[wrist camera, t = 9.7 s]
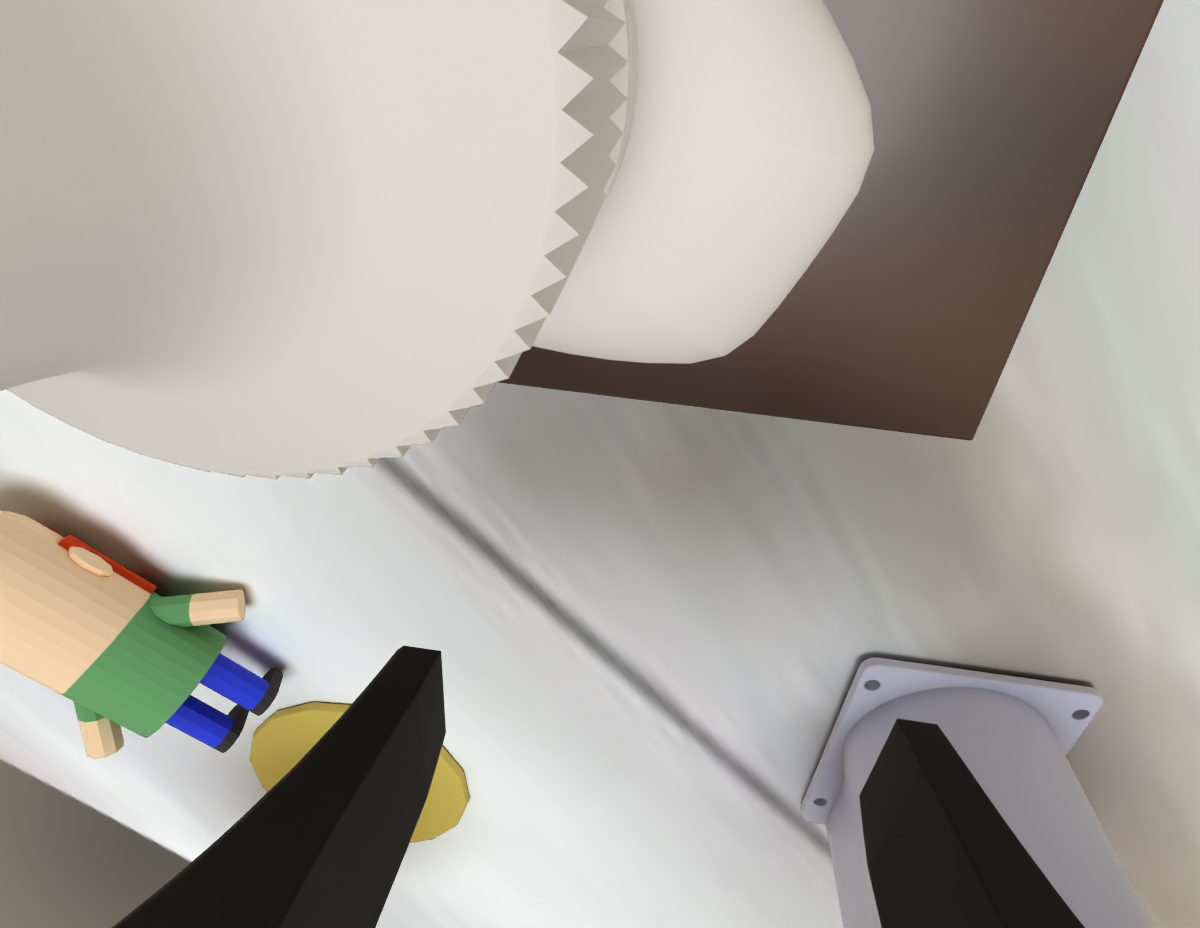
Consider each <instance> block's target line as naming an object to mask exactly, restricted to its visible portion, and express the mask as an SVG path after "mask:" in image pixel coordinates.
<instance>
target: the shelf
mask: <svg viewBox="0 0 1200 928" xmlns="http://www.w3.org/2000/svg"><path fill="white" fill-rule="evenodd" d="M823 1H824V3H825V5H826V6H827V8H828V10H829V12H830V14H831V16H832V18H833V20H834V22H835V24H836V26H837V28H838V30H839V31H840V33H841V35H842V37H843V39H844V41H845V43H846V45H847V47H848V49H849V51H850V53H851V55H852V57H853V60H854V62H855V65H856V68H857V70H858V73H859V76H860V78H861V81H862V83H863V86H864V89H865V91H866V94H867V97H868V99H869V102H870V105H871V115H872V128H873V140H874V152H873V155H872V157H871V160H870V163H869V165H868V168H867V171H866V174H865V176H864V179H863V182H862V184H861V187H860V190H859V192H858V194H857V195H856V197H855V199H854V200H853V202H852V203H851V205H850V206H849V208H848V210H847V211H846V213H845V214H844V216H843V217H842V219H841V221H840V222H839V224H838V225H837V227H836V229H835V230H834V232H833V233H832V235H831V236H830V238H829V239H828V240H827V242H826V243H825V245H824V246H823V247H822V249H821V250H820V252H819V253H818V254H817V256H816V257H815V259H814V260H813V261H812V263H811V264H810V266H809V267H808V268H807V270H806V271H805V272H804V274H803V275H802V276H801V278H800V279H799V280H798V282H797V283H796V284H795V286H794V287H793V288H792V290H791V291H790V292H789V294H788V295H787V296H786V298H785V299H784V300H783V301H782V303H781V304H780V305H779V307H778V308H777V309H776V310H775V311H774V312H773V314H772V315H771V316H770V317H769V318H768V319H767V321H766V322H765V323H764V324H763V325H762V326H761V328H760V329H759V330H758V331H757V332H756V333H755V335H754V336H752V337H751V338H749V339H748V340H747V341H745V342H744V343H742V344H741V345H740V346H738V347H737V348H735V349H734V350H733V351H731V352H730V353H729V354H727V355H726V356H722V357H718V358H713V359H709V360H704V361H700V362H696V363H691V364H683V363H641V362H629V361H617V360H607V359H600V358H594V357H587V356H581V355H574V354H568V353H563V352H558V351H553V350H549V349H544V348H539V347H534V346H532V347H531V349H529V350H526V351H523V352H522V354H521V356H520V358H519V360H518V361H517V363H516V365H515V367H514V369H513V371H512V373H511V375H510V377H509V379H505V380H501V381H498V382H500V383H508V384H516V385H524V386H532V387H540V388H549V389H557V390H565V391H573V392H581V393H589V394H597V395H605V396H614V397H622V398H630V399H638V400H646V401H654V402H662V403H670V404H679V405H687V406H695V407H703V408H711V409H719V410H727V411H735V412H744V413H752V414H760V415H768V416H776V417H784V418H792V419H800V420H809V421H817V422H825V423H833V424H841V425H849V426H857V427H865V428H874V429H882V430H890V431H898V432H906V433H914V434H922V435H930V436H939V437H947V438H955V439H963V440H972V439H973V438H974V435H975V433H976V431H977V428H978V426H979V424H980V421H981V419H982V417H983V415H984V412H985V410H986V408H987V405H988V403H989V401H990V398H991V396H992V394H993V392H994V389H995V387H996V385H997V382H998V380H999V378H1000V375H1001V373H1002V371H1003V369H1004V366H1005V364H1006V362H1007V359H1008V357H1009V355H1010V352H1011V350H1012V348H1013V346H1014V343H1015V341H1016V339H1017V336H1018V334H1019V332H1020V329H1021V327H1022V325H1023V323H1024V320H1025V318H1026V316H1027V313H1028V311H1029V309H1030V306H1031V304H1032V302H1033V300H1034V297H1035V295H1036V293H1037V290H1038V288H1039V286H1040V283H1041V281H1042V279H1043V277H1044V274H1045V272H1046V270H1047V267H1048V265H1049V263H1050V261H1051V258H1052V256H1053V254H1054V251H1055V249H1056V247H1057V244H1058V242H1059V240H1060V238H1061V235H1062V233H1063V231H1064V228H1065V226H1066V224H1067V221H1068V219H1069V217H1070V215H1071V212H1072V210H1073V208H1074V205H1075V203H1076V201H1077V198H1078V196H1079V194H1080V192H1081V189H1082V187H1083V185H1084V182H1085V180H1086V178H1087V175H1088V173H1089V171H1090V169H1091V166H1092V164H1093V162H1094V159H1095V157H1096V155H1097V152H1098V150H1099V148H1100V146H1101V143H1102V141H1103V139H1104V136H1105V134H1106V132H1107V129H1108V127H1109V125H1110V123H1111V120H1112V118H1113V116H1114V113H1115V111H1116V109H1117V106H1118V104H1119V102H1120V100H1121V97H1122V95H1123V93H1124V90H1125V88H1126V86H1127V83H1128V81H1129V79H1130V77H1131V74H1132V72H1133V70H1134V67H1135V65H1136V63H1137V61H1138V58H1139V56H1140V54H1141V51H1142V49H1143V47H1144V44H1145V42H1146V40H1147V38H1148V35H1149V33H1150V31H1151V28H1152V26H1153V24H1154V21H1155V19H1156V17H1157V15H1158V12H1159V10H1160V8H1161V5H1162V3H1163V1H1164V0H823Z"/></svg>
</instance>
